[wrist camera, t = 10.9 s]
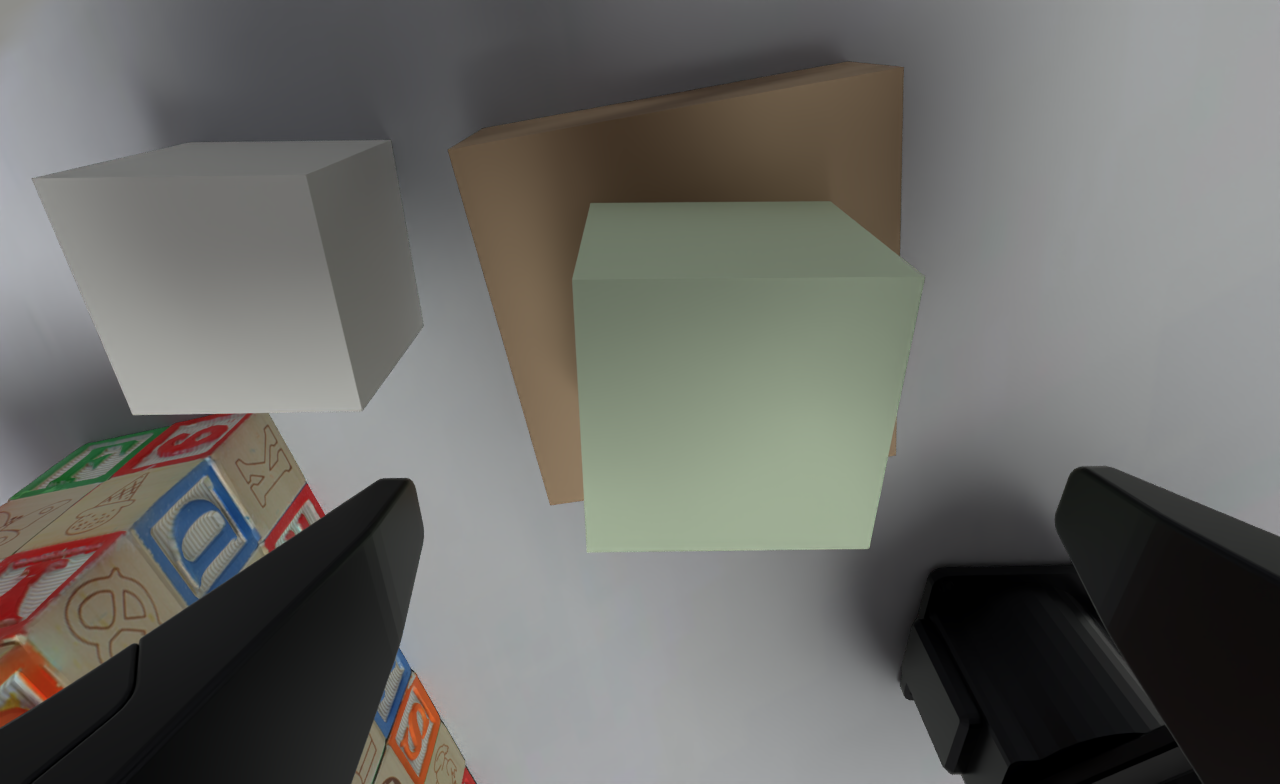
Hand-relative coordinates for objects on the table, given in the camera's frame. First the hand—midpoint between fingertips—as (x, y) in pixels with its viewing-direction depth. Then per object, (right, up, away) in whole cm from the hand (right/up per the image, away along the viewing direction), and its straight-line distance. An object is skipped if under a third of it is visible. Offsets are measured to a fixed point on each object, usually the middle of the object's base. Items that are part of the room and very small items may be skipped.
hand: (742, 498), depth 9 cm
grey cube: (-10, +6, +9) cm, 14 cm away
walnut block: (0, +5, +9) cm, 11 cm away
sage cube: (0, +3, +6) cm, 7 cm away
